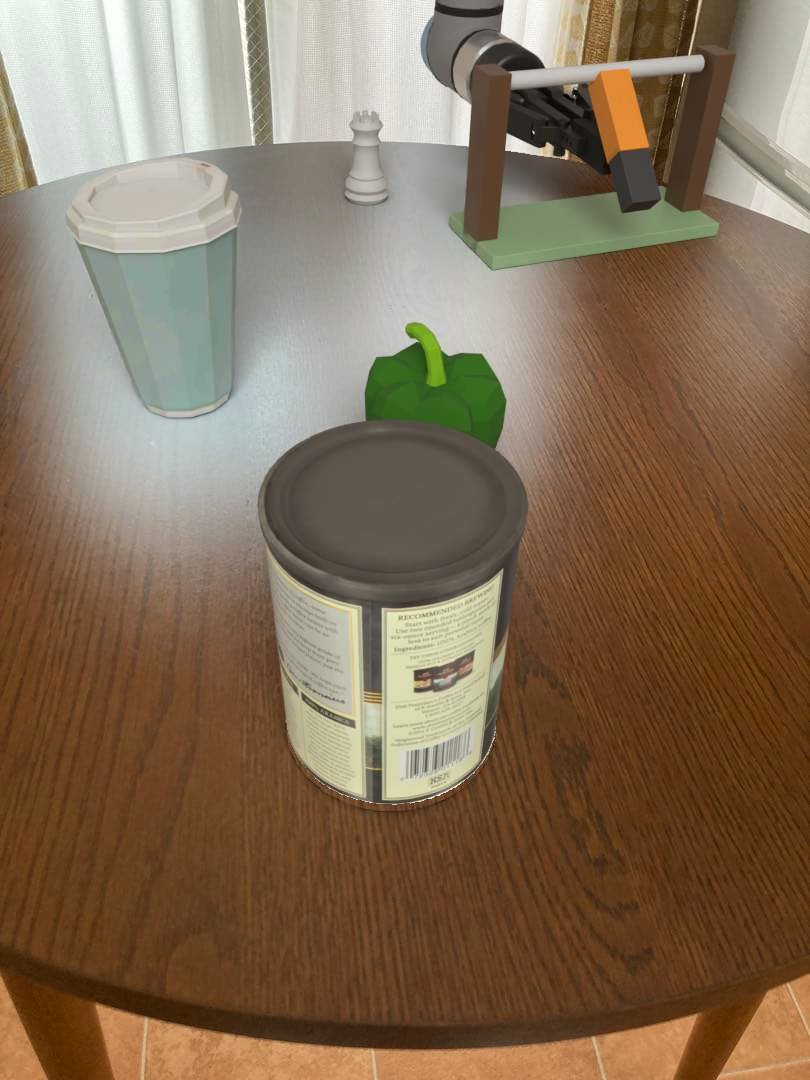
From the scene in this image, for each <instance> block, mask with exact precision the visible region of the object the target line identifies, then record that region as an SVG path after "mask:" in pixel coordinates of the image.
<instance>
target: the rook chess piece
mask: <svg viewBox="0 0 810 1080" xmlns="http://www.w3.org/2000/svg"><path fill="white" fill-rule="evenodd" d="M348 126H349V128H350V129H351V131H352V132H353V137H352V139H351V144H352V145H353V156H352V166H351V169H350V171H349V172H348V173H349V175H348V176H347V178H346V179H345V182H344V185H345V188H346V190H345V191H344V196H345V197H346V199H347V200H348V201H349V202H351V203H352V204H356V205H360V206H375V205H379V204H381V203H383V202H385V200H386V199H387V198H388V196H389V194H390V193H389V191H388V189H387V188H388V186H389V184H388V180H387V178H386V177H385V176H384V173H385V172H384V171H383V170H382V166H381V160H380V154H379V151H380V150H379V148H380V147H379V145H380V144H381V142H382V141H381V139H380V138H379V133H380V132H381V130H382V129H383V127H384V125H383V122H382V121H381V119H380V113H377V111H375V110H371V111H370V115H369V110H368V109H367V110H365V109H364V110H362V115H361V112H360V111H359V110H357V111H354V113H352V119H351V121H350V122H349V124H348Z"/></svg>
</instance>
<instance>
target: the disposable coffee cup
mask: <svg viewBox="0 0 810 1080" xmlns="http://www.w3.org/2000/svg"><path fill="white" fill-rule="evenodd" d="M242 212H243V208H242V207H241V202H240V196H239V194H238V193H236V192H235V191H234V190H232V189H231V187H230V179H229V175H228V174H227V173H226V172H225V171H223V170H221V168H219V167H218V166H216V165H215V164H212V163H210V162H207V161H204V160H198V159H194V158H190V157H189V158H188V157H183V156H178V157H166V158H156V159H155V158H154V159H145V160H140V161H138V162H133V163H131V164H127V165H123V166H119V167H116V168H113V169H109V170H107V171H104V172H103V173H102V174H100V175H98V176H96V177H93V179H91V180H89V181H87V182H85V183H83V184H82V185H81V186H80V187H79V189H78V191H77V192H76V194H75V196H74V198H73V199H72V201H71V203H70V205H69V207H68V208H67V210H66V211H65V213H64V214H65V219H66V227H65V228H66V229H67V231H68V232H69V233H70V234H71V236H72V237H73V239H74V242H75V244H76V245H77V249H78V251H79V254H80V256H81V258H82V261H83V263H84V266H85V268H86V270H87V274H88V276H89V279H90V281H91V284H92V286H93V289H94V291H95V294H96V296H97V299H98V301H99V303H100V306H101V310H102V312H103V314H104V317H105V318H106V322H107V323H108V326H109V329H110V332H111V334H112V336H113V339H114V341H115V344H116V346H117V349H118V351H119V354H120V356H121V359H122V362H123V364H124V367H125V369H126V372H127V375H128V378H129V379H130V381H131V385H132V387H133V389H134V392H135V393H136V395H137V396H138V398H140V400H141V402H142V403H143V404H144V406H146V408H147V409H148V411H149V412H151V413H153V414H157V415H159V416H162V417H165V418H168V419H169V418H171V419H172V418H194V417H197V416H201V415H204V414H207V413H211V412H214V411H216V410H217V409H218V408H219V407H221V406H222V405H223V404H224V403H226V402H227V401H228V400H229V397H230V392H231V391H232V387H233V383H234V379H235V350H236V349H235V346H236V344H235V343H236V341H235V340H236V304H237V303H236V301H237V266H238V265H237V261H238V260H237V259H238V225H239V222H240V218H241V215H242Z"/></svg>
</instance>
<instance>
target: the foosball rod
mask: <svg viewBox="0 0 810 1080" xmlns="http://www.w3.org/2000/svg"><path fill="white" fill-rule="evenodd" d="M704 63H705V61H704V57H703V56H702V55H694V54H691V55H679V56H670V57H669V56H668V57H657V58H645V59H637V60H636V59H635V60H626V61H625V60H624V61H623V60H622V61H612V62H603V63H590V64H578V65H567V66H557V67H545V68H544V69H533V70H522V71H510V73H511V74H512V80H511V90H520V89H530V88H541V87H551V86H562V85H563V86H571V85H579V84H583V83H587V84H589V86H588V90H589V94H590V97H591V101H592V105H593V109H594V113H595V117H596V121H597V125H598V128H599V132H600V136H601V140H602V144H603V148H604V152H605V155H606V159H607V163H608V164H609V166H610V170H611V174H610V175H611V177H612V181H613V186H614V189H615V192H616V193H617V197H618V201H619V205H620V209H621V213H628V212H635V211H642V210H649V209H651V208H652V207H653V206H654V205H655V204H656V203H658V202H659V201H660V200H661V195H660V191H659V187H658V186H659V185H658V184H659V183H658V180H657V176H656V173H655V168H654V165H653V161H652V157H651V153H650V150H649V148H650V144H649V139H648V135H647V132H646V129H645V125H644V120H643V117H642V113H641V110H640V105H639V102H638V98H637V94H636V91H635V87H634V82H633V80H635V79H644V78H645V79H646V78H654V77H663V76H664V77H665V76H675V75H676V76H677V75H686V74H687V75H688V74H691V73H698V72H701V71H702V70H703V68H704Z"/></svg>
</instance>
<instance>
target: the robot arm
mask: <svg viewBox="0 0 810 1080" xmlns="http://www.w3.org/2000/svg"><path fill="white" fill-rule="evenodd" d="M434 1H435V2H434V8H433V15H432V16H431V17H430V18H429V19H428V21H427V23H426V25H425V27H424V29H423V31H422V33H421V37H420V43H419V44H420V46H419V47H420V55H421V58H422V59H421V60H422V61H423V63H424V65H425V67H426V69H428V71H429V72H430V73H431V74H432V76H433V77H434V79H435V80H436V81H437V82H438V83H440V84H441V85H443V86H444V87H445V88H449V89H450V90H452V91H453V92H454V93H455V94H457V95H458V96H459V98H461V99H462V100H464V101H466V102H467V103H468V105H471V103H472V87H473V71H474V65H484V64H497V65H499V66H500V67H502V68H503V69H505V70H506V71H508V72H510V71H522V70H533V69H544V68H546V66H545V64H544V62H543V61H542V59H541V58H540V57H539V56H538V55H536V54H535V53H534V52H533V51H530V50H529V49H527V48H525V47H524V46H522V44H519V43H518V42H516V41H515V40H514V39H512V38H510V37H508V36H506V35H504V34H503V33H502V24H503V13H504V7H505V0H434ZM589 85H590V83H583V84H578V86H573V87H572V90H566V89H565V87H564V86H565V85H562V86H551V87H541V88H530V89H520V90H511V91H510V103H509V114H508V125H507V134H508V135H509V136H512V137H514V138H516V139H517V140H520V141H522V142H524V143H526V144H528V145H531V146H532V147H534V148H537V149H543V148H546V147H547V143H548V144H549V145H551V146H552V148H553V151H552V156H554V157H560V158H561V157H565V156H566V151H567V152H568V153H570V154H571V155H573V156H576V157H577V158H578V159H580V160H581V161H582V162H584V163H585V164H586V165H588V166H589V167H591V168H592V169H593V170H594V171H596V172H597V173H599V174H600V175H601V176H606V175H612V174H611V170H610V166H609V164H608V163H607V159H606V155H605V152H604V148H603V144H602V140H601V136H600V132H599V128H598V125H597V121H596V117H595V113H594V109H593V105H592V101H591V97H590V94H589V90H588V86H589Z"/></svg>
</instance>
